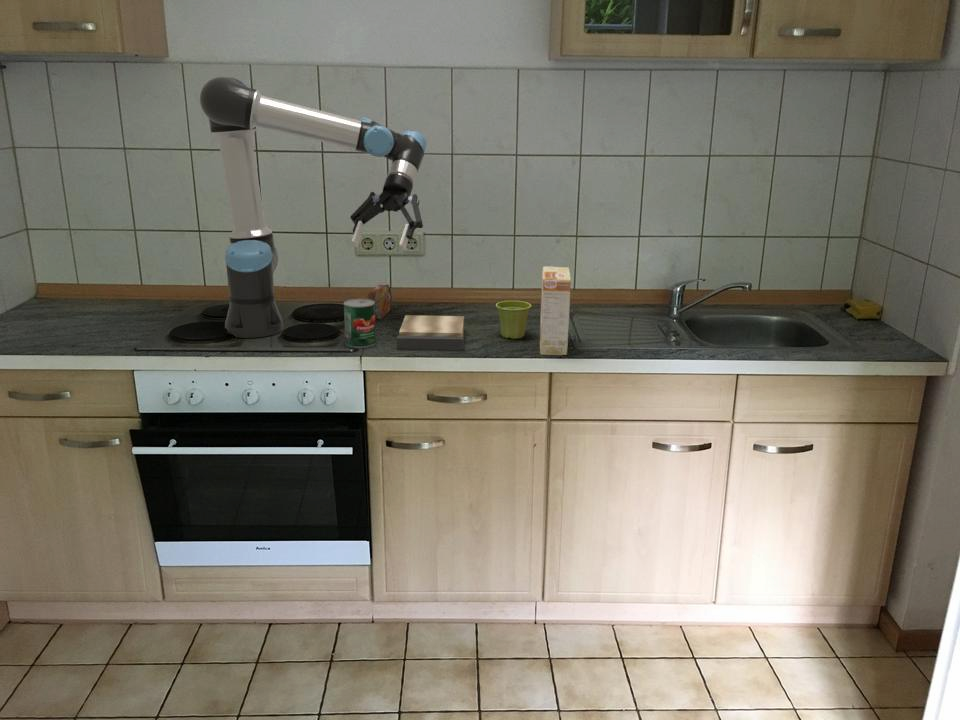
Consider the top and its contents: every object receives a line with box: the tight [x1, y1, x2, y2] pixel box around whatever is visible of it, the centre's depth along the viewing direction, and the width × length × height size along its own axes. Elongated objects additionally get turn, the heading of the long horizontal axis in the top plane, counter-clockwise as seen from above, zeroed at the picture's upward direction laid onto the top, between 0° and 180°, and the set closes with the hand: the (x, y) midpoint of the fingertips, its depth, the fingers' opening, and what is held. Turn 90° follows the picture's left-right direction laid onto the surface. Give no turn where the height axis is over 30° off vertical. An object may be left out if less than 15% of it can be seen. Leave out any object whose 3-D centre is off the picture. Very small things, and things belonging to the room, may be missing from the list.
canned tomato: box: [343, 298, 377, 349], centre depth 200 cm, size 8×8×11 cm
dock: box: [396, 314, 465, 351], centre depth 205 cm, size 17×18×4 cm
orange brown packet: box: [367, 284, 393, 320], centre depth 226 cm, size 15×3×8 cm, turn 168°
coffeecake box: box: [539, 265, 572, 356], centre depth 198 cm, size 15×7×20 cm, turn 175°
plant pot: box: [495, 300, 532, 340], centre depth 208 cm, size 9×9×9 cm
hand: (377, 245), depth 203 cm, fingers open, 13 cm apart
